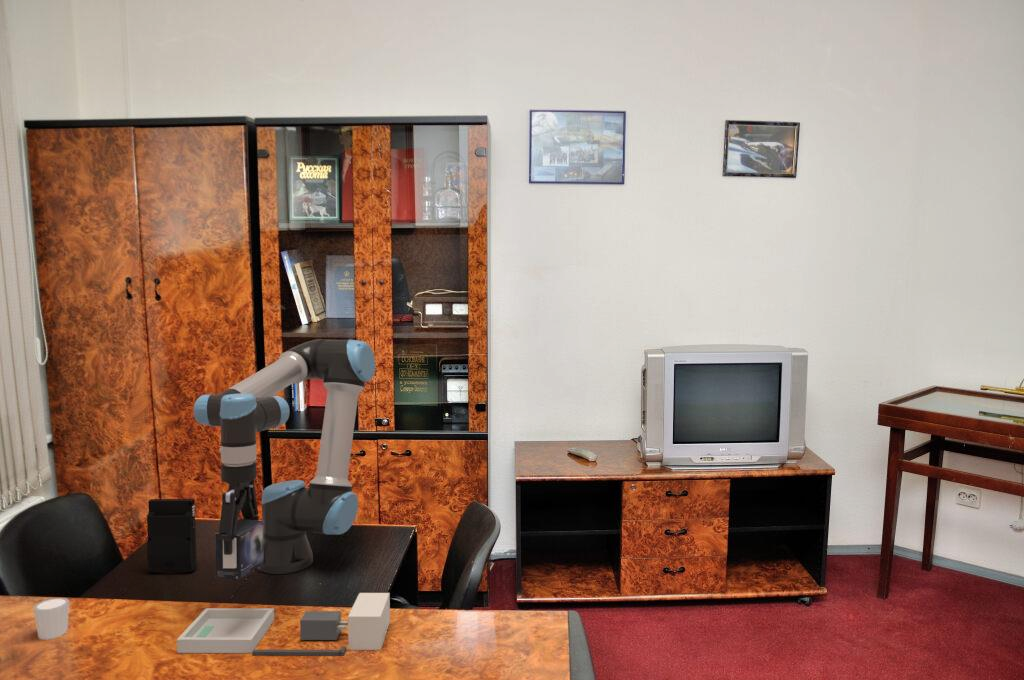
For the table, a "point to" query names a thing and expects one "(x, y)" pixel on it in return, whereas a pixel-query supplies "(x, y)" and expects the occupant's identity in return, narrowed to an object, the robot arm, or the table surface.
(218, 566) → the small box
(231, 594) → the table surface
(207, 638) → the dock
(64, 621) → the white cylinder
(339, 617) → the plug
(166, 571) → the black upright device
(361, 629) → the socket
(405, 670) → the table surface
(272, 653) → the grey thin bar
